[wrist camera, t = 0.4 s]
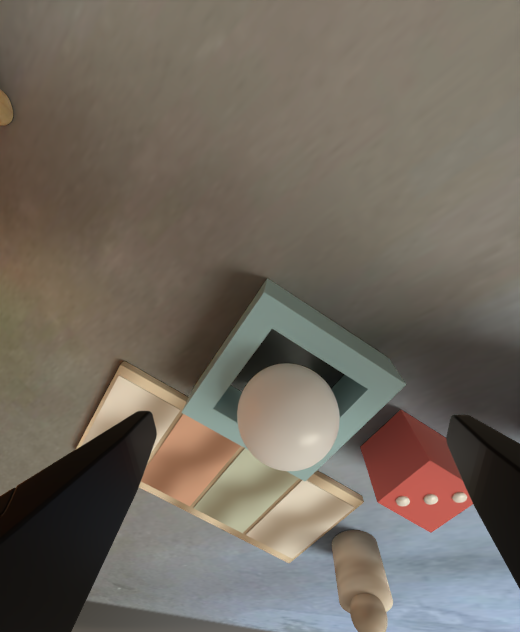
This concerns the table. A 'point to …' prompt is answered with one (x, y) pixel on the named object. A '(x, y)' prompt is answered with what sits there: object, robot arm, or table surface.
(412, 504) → the red die
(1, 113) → the grandmother figurine
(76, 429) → the table surface
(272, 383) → the white ball
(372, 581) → the pawn
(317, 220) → the table surface
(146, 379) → the game board
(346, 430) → the housing
